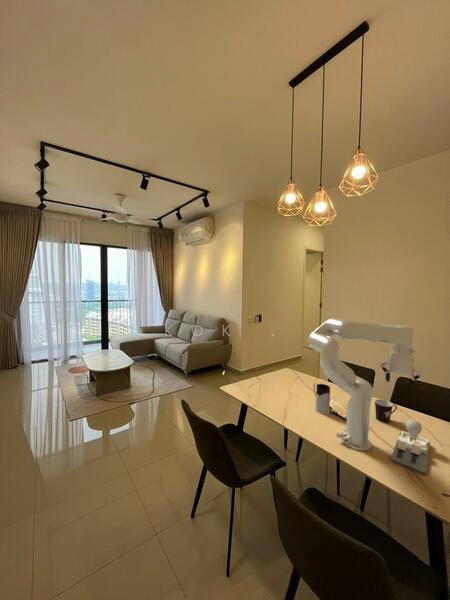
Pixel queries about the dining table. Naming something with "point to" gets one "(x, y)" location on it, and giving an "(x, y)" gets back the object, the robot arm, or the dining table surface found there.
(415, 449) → the toggle tagged
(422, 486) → the dining table surface
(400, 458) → the panel
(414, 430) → the lightbulb
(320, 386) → the grey black pitcher
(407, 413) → the dining table surface
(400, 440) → the toggle
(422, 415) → the dining table surface
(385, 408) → the coffee mug
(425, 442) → the socket tray
